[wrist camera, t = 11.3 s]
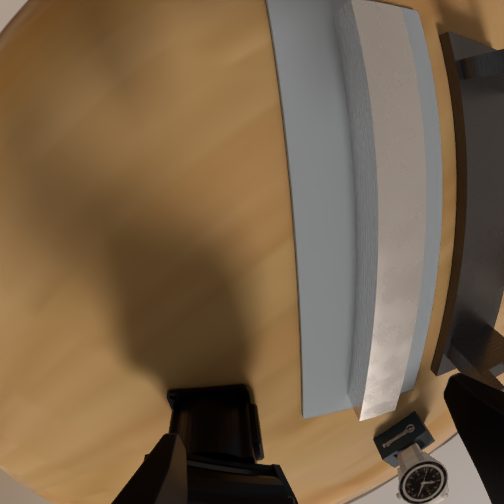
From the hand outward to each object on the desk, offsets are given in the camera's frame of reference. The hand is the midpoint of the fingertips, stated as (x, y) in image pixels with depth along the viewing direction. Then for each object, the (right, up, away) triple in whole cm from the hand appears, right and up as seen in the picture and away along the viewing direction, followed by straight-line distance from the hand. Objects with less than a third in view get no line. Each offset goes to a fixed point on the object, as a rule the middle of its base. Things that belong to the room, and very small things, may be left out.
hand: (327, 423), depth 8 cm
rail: (+6, +6, +11) cm, 14 cm away
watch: (+14, -15, +19) cm, 28 cm away
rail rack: (+17, +8, +11) cm, 22 cm away
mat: (+6, +7, +11) cm, 14 cm away
